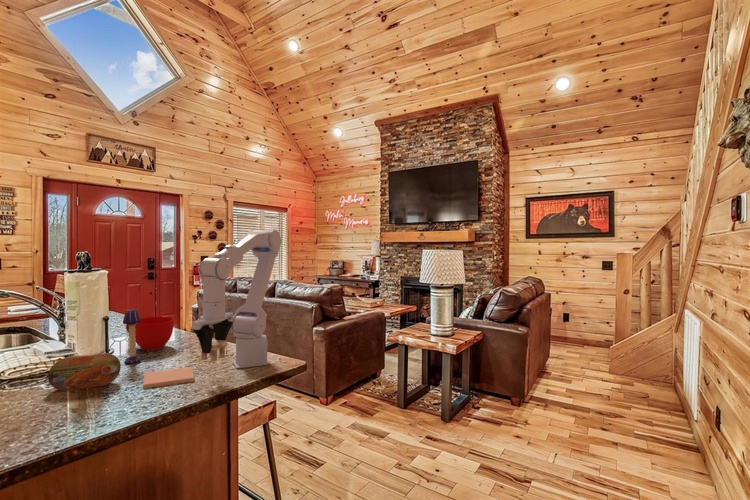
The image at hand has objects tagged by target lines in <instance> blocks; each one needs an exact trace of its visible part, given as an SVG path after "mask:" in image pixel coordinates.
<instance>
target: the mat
mask: <svg viewBox="0 0 750 500" xmlns="http://www.w3.org/2000/svg"><path fill="white" fill-rule="evenodd" d="M143 376H144V377H143V384H142V386H143V387H142V388H143V389H150V388H155V387H164V386H170V385H176V384H182V383H183V384H185V383H193V382H195V375H194V371H193V367H192V366H188V367H180V368H172V369H170V368H169V369H164V370H155V371H148V372H144V375H143Z"/></svg>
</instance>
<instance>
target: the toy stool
mask: <svg viewBox="0 0 750 500" xmlns="http://www.w3.org/2000/svg"><path fill="white" fill-rule="evenodd" d="M227 346H228V341H227V340H226V341H222V340H215V339H213V338H212V347H211V352H210V353H203V352H202V351H201V354H200V355H201V360H202V361H206V360H208V354H209V357H210V360H211V362H216V361H218V358H219V359H224V358H225V356H226V355H225V351H226V350H225V349H226V347H227ZM198 348H199V349H201V345H200V344H199V347H198ZM201 350H202V349H201ZM218 350H219V351H218ZM218 353H219V354H218Z"/></svg>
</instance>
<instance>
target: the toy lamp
mask: <svg viewBox="0 0 750 500" xmlns="http://www.w3.org/2000/svg"><path fill="white" fill-rule="evenodd" d="M140 318H141V317H140V315H139V311H138V309H136V308H133V309H132V308H131V309H130V308H129V309H126V310H125V312H124V316H123V319H122V324H123V325H127V324H129V333H128V337H129V339H128V342H129V343H128V346H129V349H128V352H129V353H128V355H129V356H128V357H127V358H126V359H125V360H124V365H128V366H129V365H137V364H139V363H141V361H142V360H141V358H140V357H139V356H137V351H136V349H137V348H136V346H137V343H136V342H135V341H136V338H135V335H136V334H135V324H136V323H139V322H140Z"/></svg>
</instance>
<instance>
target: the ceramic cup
mask: <svg viewBox="0 0 750 500" xmlns="http://www.w3.org/2000/svg"><path fill="white" fill-rule="evenodd" d="M174 321H175V318H174V317H171V316H147V317H140V322H139V323H136V324H135V334H136V335H135V338H136V341H135V343H136V346H138V347H139V348H141V350H142V351H156V350H157V351H158V350H161V349H163V348H164V347H165V346H166V344H167V343H168V342H169V340H171V337H172V334H173V331H174V324H175V323H174ZM125 325H126V326H125V329H126V332H127V334H129V324H125Z"/></svg>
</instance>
